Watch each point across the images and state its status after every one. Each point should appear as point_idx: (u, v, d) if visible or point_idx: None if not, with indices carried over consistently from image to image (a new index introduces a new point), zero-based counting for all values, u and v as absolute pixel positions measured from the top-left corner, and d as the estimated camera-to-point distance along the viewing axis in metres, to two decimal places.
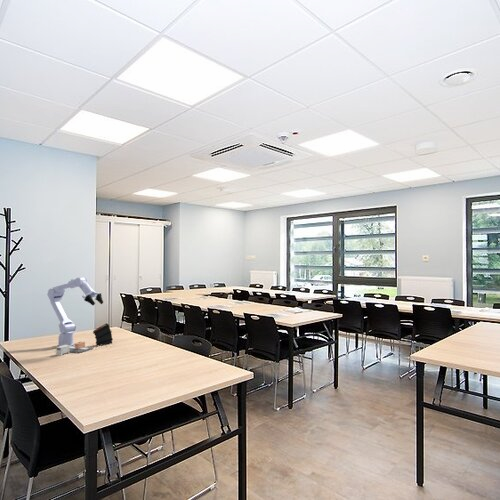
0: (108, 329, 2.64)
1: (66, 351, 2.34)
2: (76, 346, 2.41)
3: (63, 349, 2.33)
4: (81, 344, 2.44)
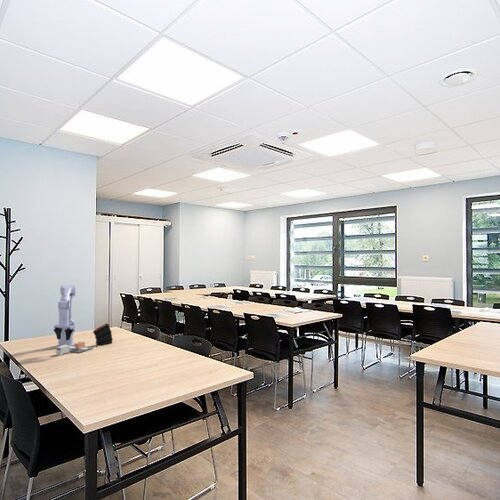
0: (108, 329, 2.64)
1: (66, 351, 2.34)
2: (76, 346, 2.41)
3: (63, 349, 2.33)
4: (81, 344, 2.44)
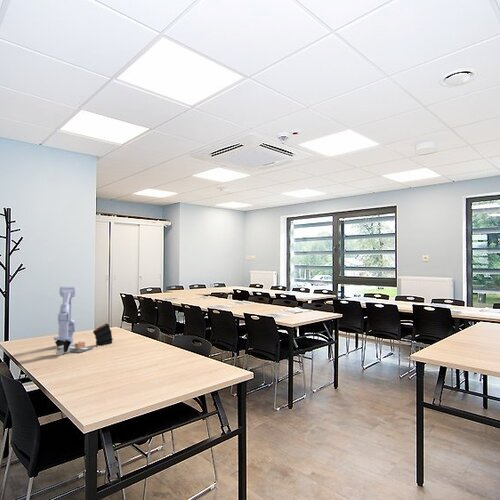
0: (108, 329, 2.64)
1: None
2: (76, 346, 2.41)
3: (63, 349, 2.33)
4: (81, 344, 2.44)
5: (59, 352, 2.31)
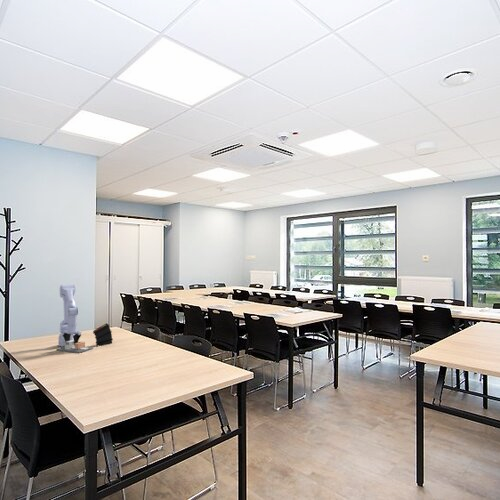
0: (108, 329, 2.64)
1: (74, 346, 2.46)
2: (76, 346, 2.41)
3: (72, 344, 2.44)
4: (81, 344, 2.44)
5: (68, 346, 2.43)
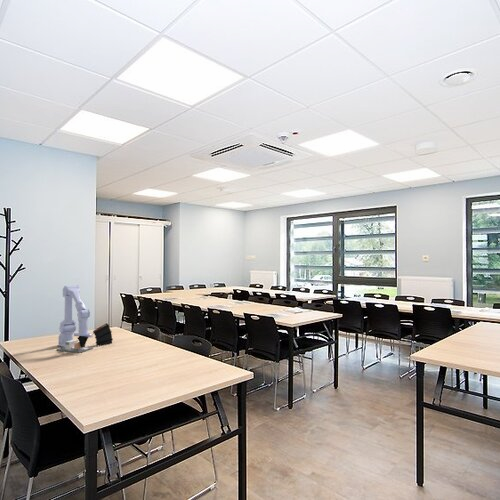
0: (108, 329, 2.64)
1: None
2: (76, 346, 2.41)
3: (72, 344, 2.44)
4: None
5: (68, 346, 2.43)
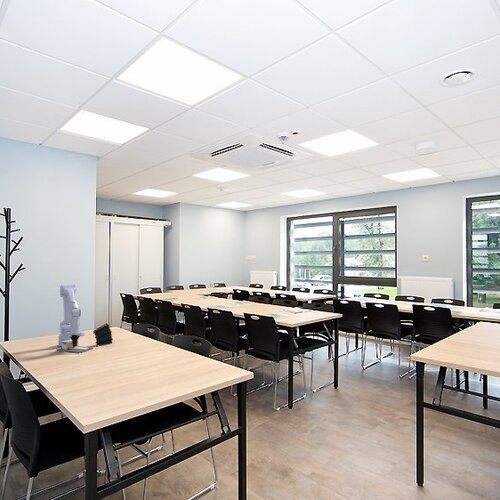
0: (108, 329, 2.64)
1: None
2: (69, 345, 2.43)
3: None
4: None
5: (65, 346, 2.43)
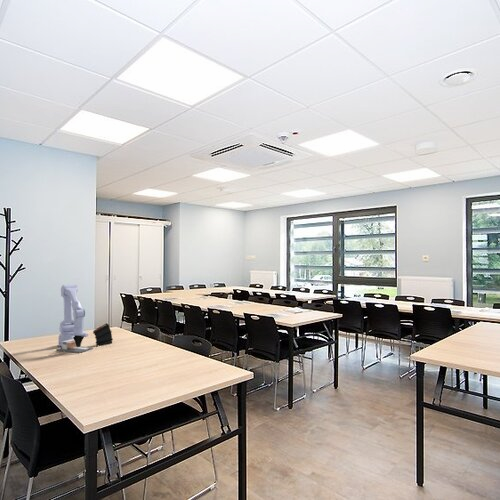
0: (108, 329, 2.64)
1: None
2: (69, 345, 2.43)
3: None
4: (74, 343, 2.45)
5: (65, 346, 2.43)
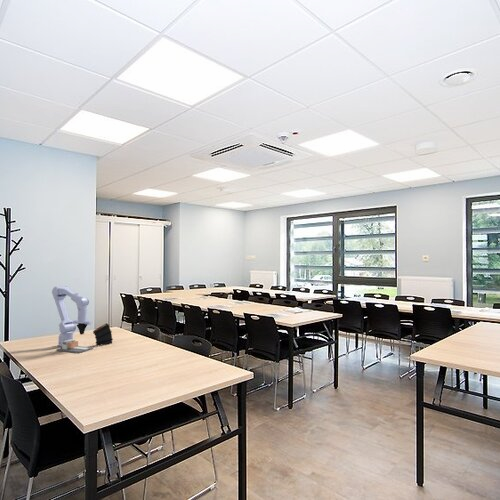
0: (108, 329, 2.64)
1: None
2: (69, 345, 2.43)
3: None
4: (74, 343, 2.45)
5: (65, 346, 2.43)
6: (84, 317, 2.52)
